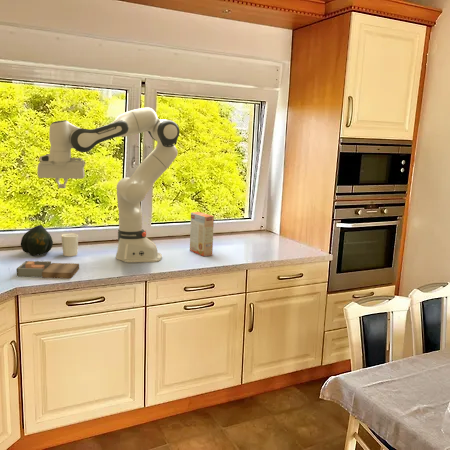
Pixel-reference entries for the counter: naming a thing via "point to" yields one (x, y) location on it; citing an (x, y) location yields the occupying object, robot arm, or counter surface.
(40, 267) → the tile
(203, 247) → the cracker box
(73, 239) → the white cup
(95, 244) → the counter surface
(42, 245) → the squash
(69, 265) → the wooden board
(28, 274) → the tray
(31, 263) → the tile
